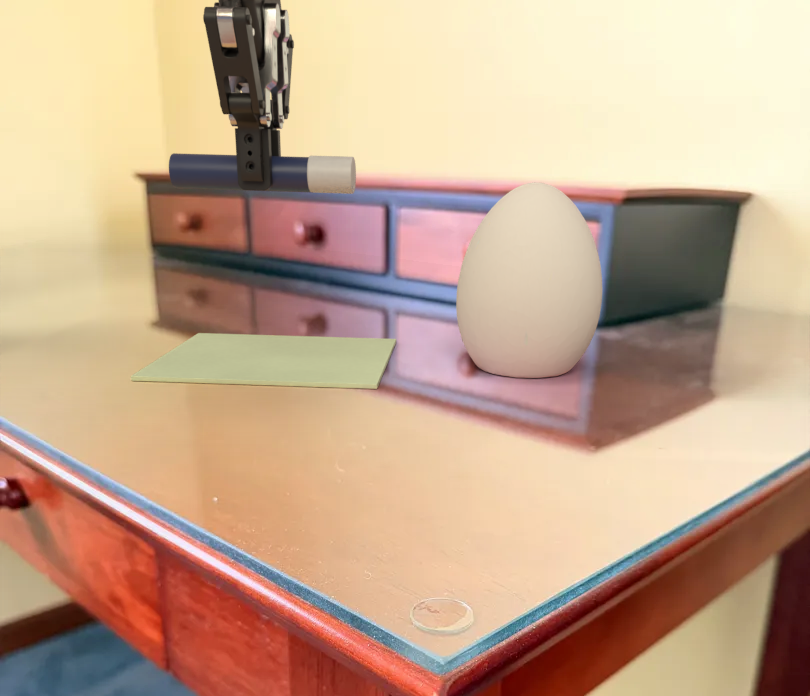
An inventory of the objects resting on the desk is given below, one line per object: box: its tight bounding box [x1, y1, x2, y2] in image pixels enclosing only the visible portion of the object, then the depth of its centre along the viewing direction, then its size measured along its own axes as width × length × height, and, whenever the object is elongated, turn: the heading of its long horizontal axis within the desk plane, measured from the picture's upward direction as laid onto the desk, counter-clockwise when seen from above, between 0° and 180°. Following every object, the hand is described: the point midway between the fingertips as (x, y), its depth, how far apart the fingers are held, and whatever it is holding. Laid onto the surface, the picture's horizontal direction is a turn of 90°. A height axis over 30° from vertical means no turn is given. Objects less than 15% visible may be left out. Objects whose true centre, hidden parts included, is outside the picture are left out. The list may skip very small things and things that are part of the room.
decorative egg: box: [455, 182, 603, 379], centre depth 69 cm, size 12×12×15 cm
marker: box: [168, 152, 357, 195], centre depth 56 cm, size 12×2×2 cm, turn 85°
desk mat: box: [130, 332, 397, 390], centre depth 74 cm, size 20×18×1 cm
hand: (260, 188), depth 56 cm, fingers closed on marker, 2 cm apart
